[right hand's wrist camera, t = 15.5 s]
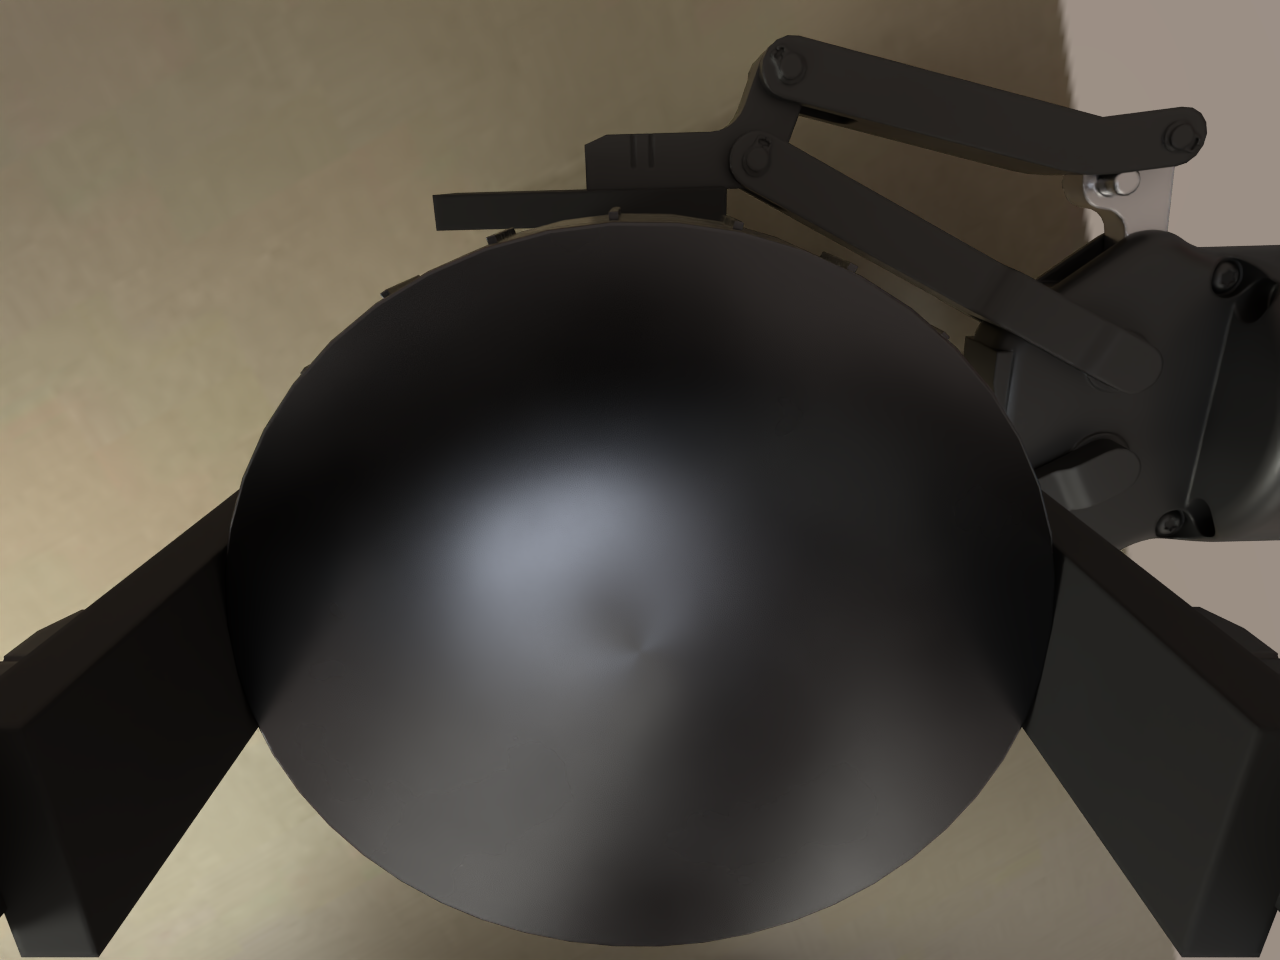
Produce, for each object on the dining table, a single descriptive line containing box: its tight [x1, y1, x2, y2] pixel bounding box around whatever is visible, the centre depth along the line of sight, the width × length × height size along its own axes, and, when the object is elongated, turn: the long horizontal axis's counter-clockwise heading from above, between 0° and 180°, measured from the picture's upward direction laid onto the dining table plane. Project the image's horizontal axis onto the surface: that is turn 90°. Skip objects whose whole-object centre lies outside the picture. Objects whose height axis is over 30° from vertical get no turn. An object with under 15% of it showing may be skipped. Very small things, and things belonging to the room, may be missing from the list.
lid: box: [224, 207, 1056, 946], centre depth 11 cm, size 11×11×2 cm
